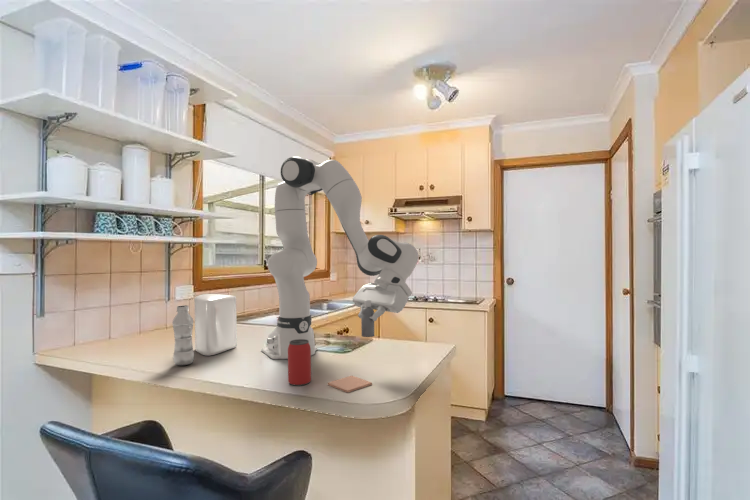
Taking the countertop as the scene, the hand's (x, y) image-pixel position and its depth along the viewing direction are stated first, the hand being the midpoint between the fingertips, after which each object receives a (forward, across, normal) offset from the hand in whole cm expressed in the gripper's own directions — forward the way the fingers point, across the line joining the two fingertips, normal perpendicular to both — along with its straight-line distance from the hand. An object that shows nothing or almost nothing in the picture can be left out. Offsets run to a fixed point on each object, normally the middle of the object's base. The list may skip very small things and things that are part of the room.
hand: (366, 318), depth 125 cm
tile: (+19, +4, +5) cm, 20 cm away
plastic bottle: (+39, -52, -14) cm, 66 cm away
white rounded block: (+29, -65, -4) cm, 71 cm away
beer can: (+26, -8, -1) cm, 27 cm away
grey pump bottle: (+3, 0, +4) cm, 5 cm away
